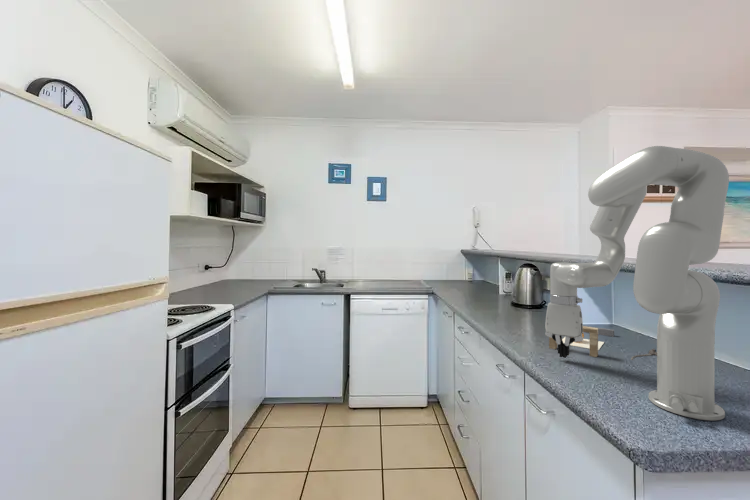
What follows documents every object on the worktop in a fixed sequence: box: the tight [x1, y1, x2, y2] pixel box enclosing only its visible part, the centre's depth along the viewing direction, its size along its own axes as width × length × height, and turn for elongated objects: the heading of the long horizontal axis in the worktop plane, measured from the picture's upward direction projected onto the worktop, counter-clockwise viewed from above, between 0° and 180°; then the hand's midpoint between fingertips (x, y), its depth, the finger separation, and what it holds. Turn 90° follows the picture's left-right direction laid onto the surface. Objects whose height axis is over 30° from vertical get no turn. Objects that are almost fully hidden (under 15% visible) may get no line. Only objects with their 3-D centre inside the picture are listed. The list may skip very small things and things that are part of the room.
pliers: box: [630, 348, 657, 361], centre depth 108 cm, size 10×1×20 cm
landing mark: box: [562, 336, 605, 351], centre depth 123 cm, size 13×13×1 cm
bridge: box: [548, 325, 599, 358], centre depth 113 cm, size 3×14×9 cm, turn 47°
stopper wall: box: [584, 325, 615, 338], centre depth 138 cm, size 2×16×2 cm, turn 47°
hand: (563, 356), depth 104 cm, fingers closed
